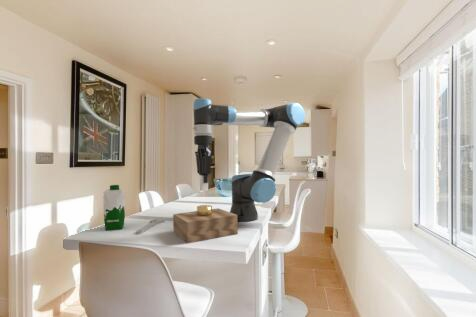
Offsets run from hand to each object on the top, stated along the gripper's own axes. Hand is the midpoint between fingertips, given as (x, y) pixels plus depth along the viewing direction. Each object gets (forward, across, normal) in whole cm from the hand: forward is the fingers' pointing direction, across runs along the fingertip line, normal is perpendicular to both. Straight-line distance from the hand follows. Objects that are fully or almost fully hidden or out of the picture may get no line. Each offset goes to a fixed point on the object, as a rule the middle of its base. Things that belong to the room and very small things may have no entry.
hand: (204, 190), depth 119 cm
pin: (+18, 0, 0) cm, 18 cm away
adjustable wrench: (+19, -26, -18) cm, 37 cm away
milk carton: (+19, -32, -32) cm, 49 cm away
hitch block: (+18, 0, 0) cm, 18 cm away
